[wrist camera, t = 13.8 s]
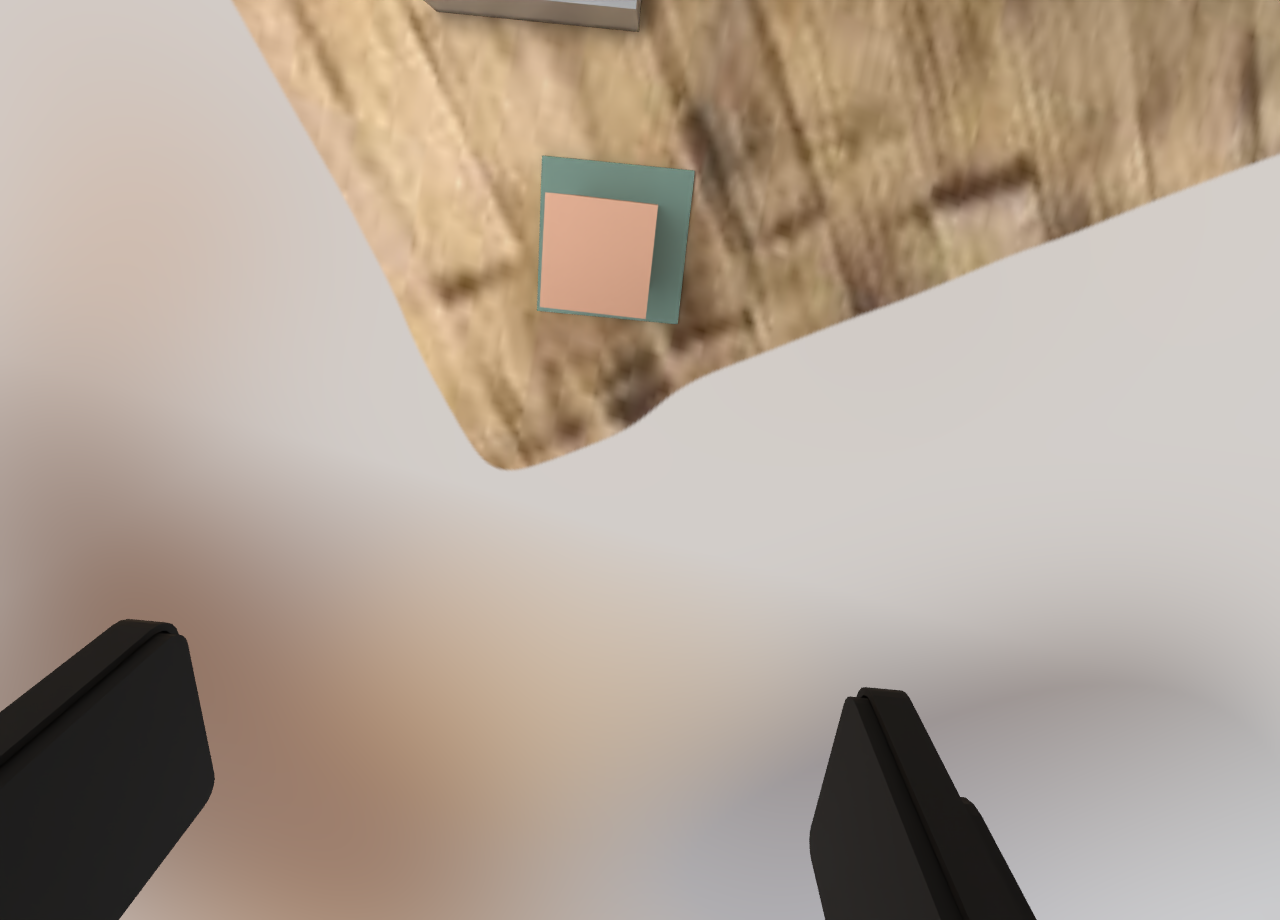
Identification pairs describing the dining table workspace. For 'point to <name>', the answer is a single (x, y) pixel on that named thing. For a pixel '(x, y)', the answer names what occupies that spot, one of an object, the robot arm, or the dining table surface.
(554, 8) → the pocket block
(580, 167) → the mat
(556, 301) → the peg
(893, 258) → the dining table surface
